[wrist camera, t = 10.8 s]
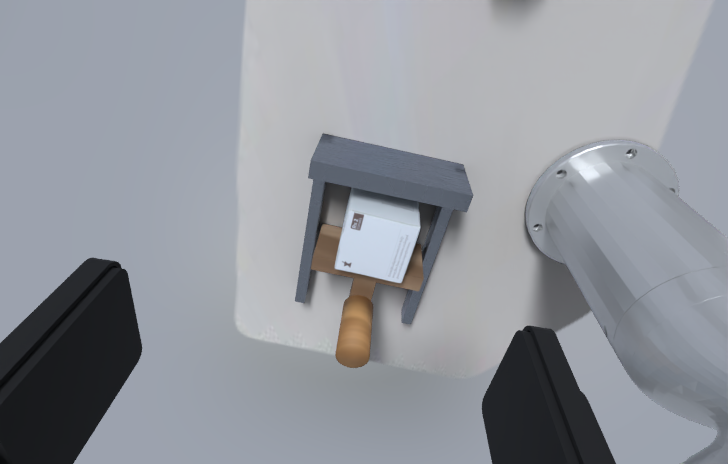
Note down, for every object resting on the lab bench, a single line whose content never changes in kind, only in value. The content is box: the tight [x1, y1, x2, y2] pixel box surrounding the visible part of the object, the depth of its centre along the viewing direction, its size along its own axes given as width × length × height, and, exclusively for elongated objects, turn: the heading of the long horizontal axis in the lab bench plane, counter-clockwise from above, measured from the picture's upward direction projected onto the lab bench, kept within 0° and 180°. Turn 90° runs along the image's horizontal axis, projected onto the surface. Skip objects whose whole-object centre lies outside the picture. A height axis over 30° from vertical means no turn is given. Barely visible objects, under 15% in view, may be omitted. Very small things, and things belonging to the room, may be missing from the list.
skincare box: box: [335, 188, 421, 283], centre depth 37 cm, size 6×6×7 cm
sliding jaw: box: [311, 224, 424, 368], centre depth 39 cm, size 6×10×12 cm, turn 78°
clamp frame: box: [295, 134, 473, 324], centre depth 39 cm, size 18×13×6 cm
